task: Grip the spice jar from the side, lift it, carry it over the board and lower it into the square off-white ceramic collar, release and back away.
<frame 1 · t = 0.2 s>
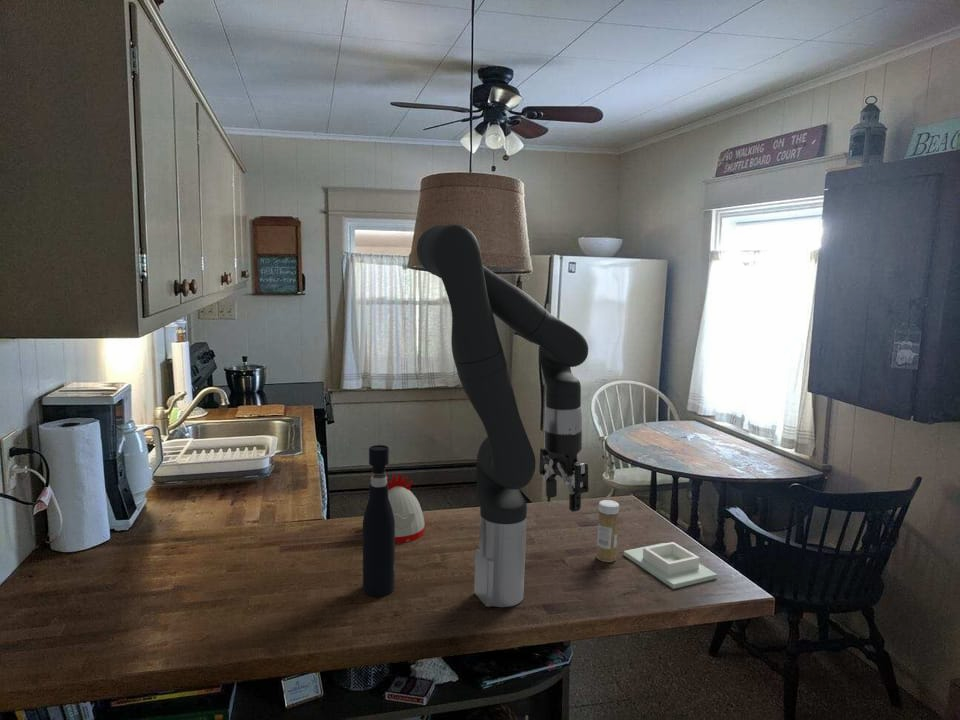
hand: (562, 503, 136), 18 cm above the kitchen counter, tool pointing down, fingers open, 8 cm apart
socket board: (670, 567, 147), on the kitchen counter
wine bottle: (378, 589, 135), on the kitchen counter
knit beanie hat: (396, 532, 163), on the kitchen counter
spice jar: (605, 559, 151), on the kitchen counter
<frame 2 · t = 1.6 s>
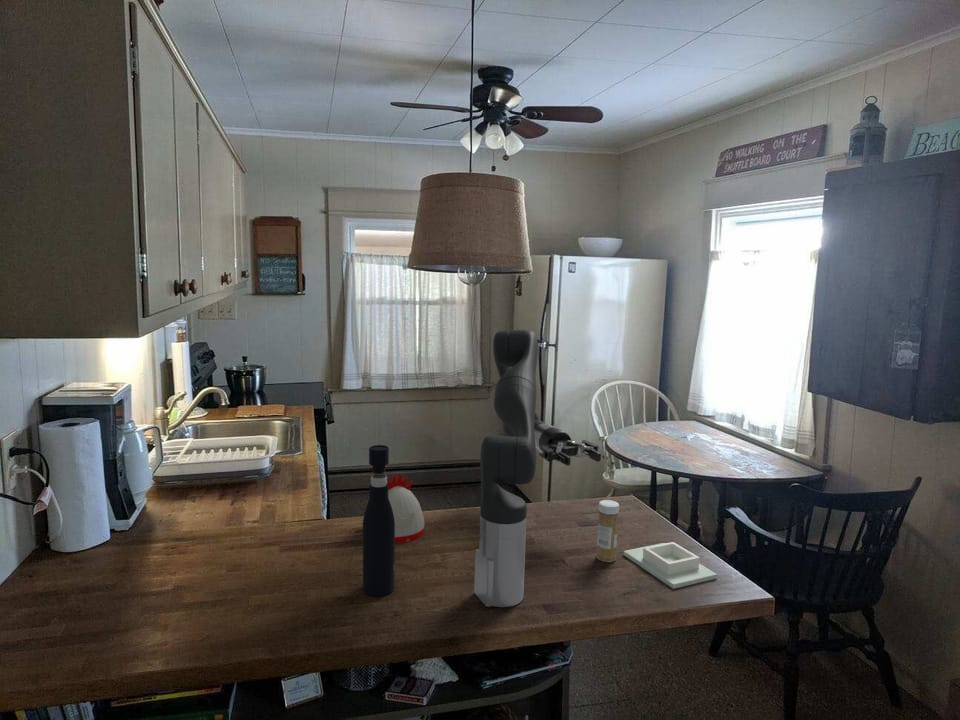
hand: (584, 459, 157), 20 cm above the kitchen counter, tool horizontal, fingers open, 8 cm apart
nothing on the kitchen counter moved.
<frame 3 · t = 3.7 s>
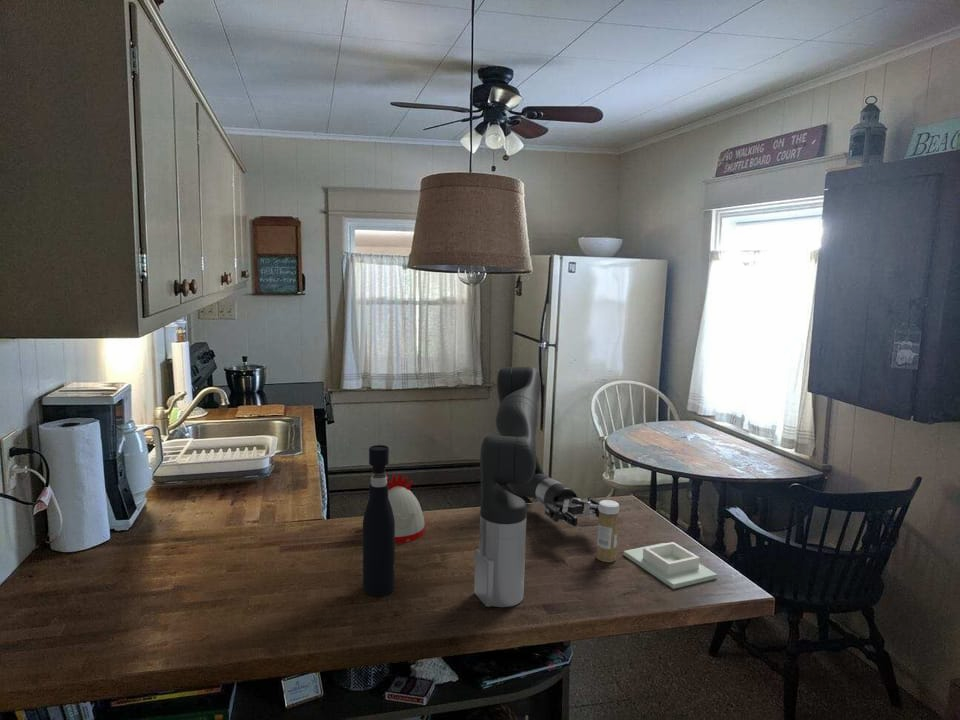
hand: (591, 519, 155), 7 cm above the kitchen counter, tool horizontal, fingers open, 8 cm apart
nothing on the kitchen counter moved.
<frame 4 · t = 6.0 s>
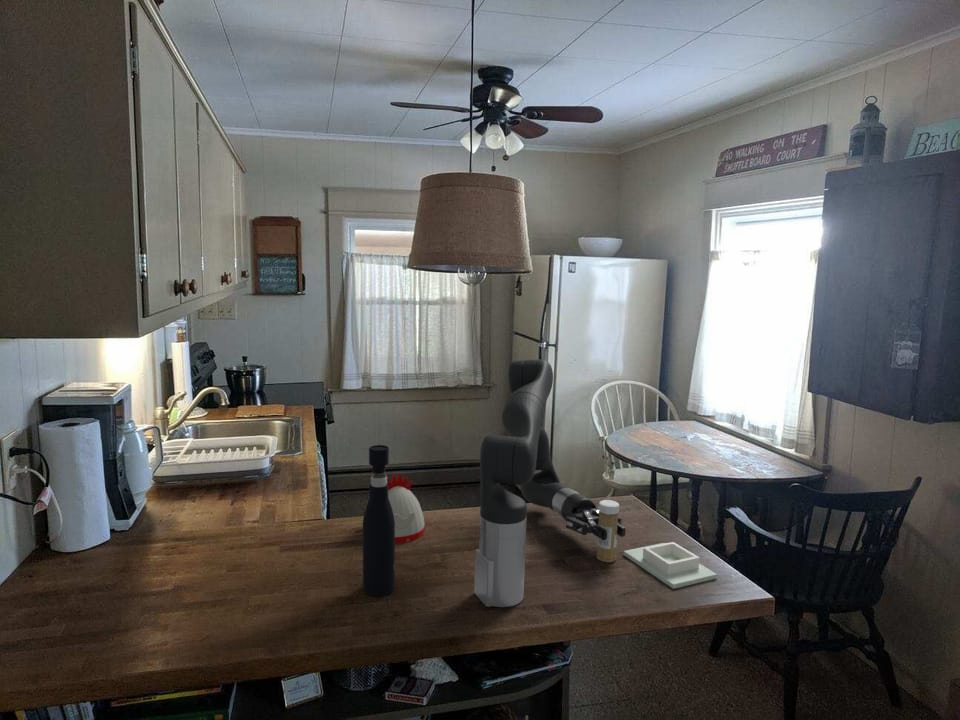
hand: (614, 534, 147), 7 cm above the kitchen counter, tool horizontal, fingers closed on spice jar, 4 cm apart
spice jar: (605, 559, 151), on the kitchen counter, touching gripper
everything else where it was.
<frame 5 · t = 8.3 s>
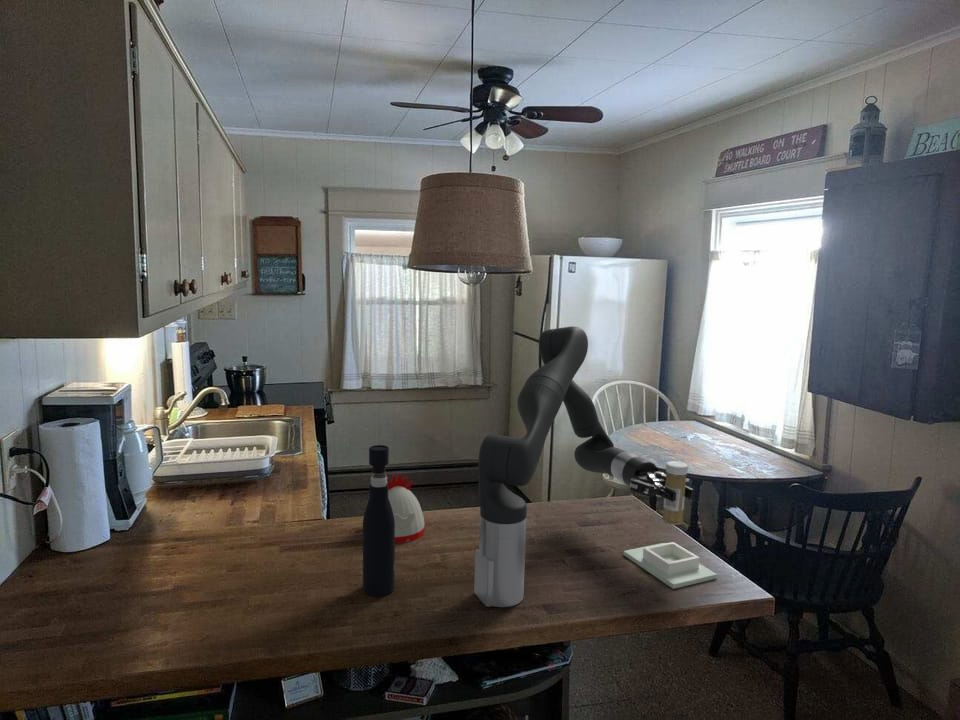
hand: (683, 495, 142), 18 cm above the kitchen counter, tool horizontal, fingers closed on spice jar, 4 cm apart
spice jar: (672, 522, 146), point 10 cm above the kitchen counter, touching gripper
everything else where it was.
when the fingers open (9 cm above the kitchen counter, at t = 10.8 s): spice jar stays where it is, resting on socket board.
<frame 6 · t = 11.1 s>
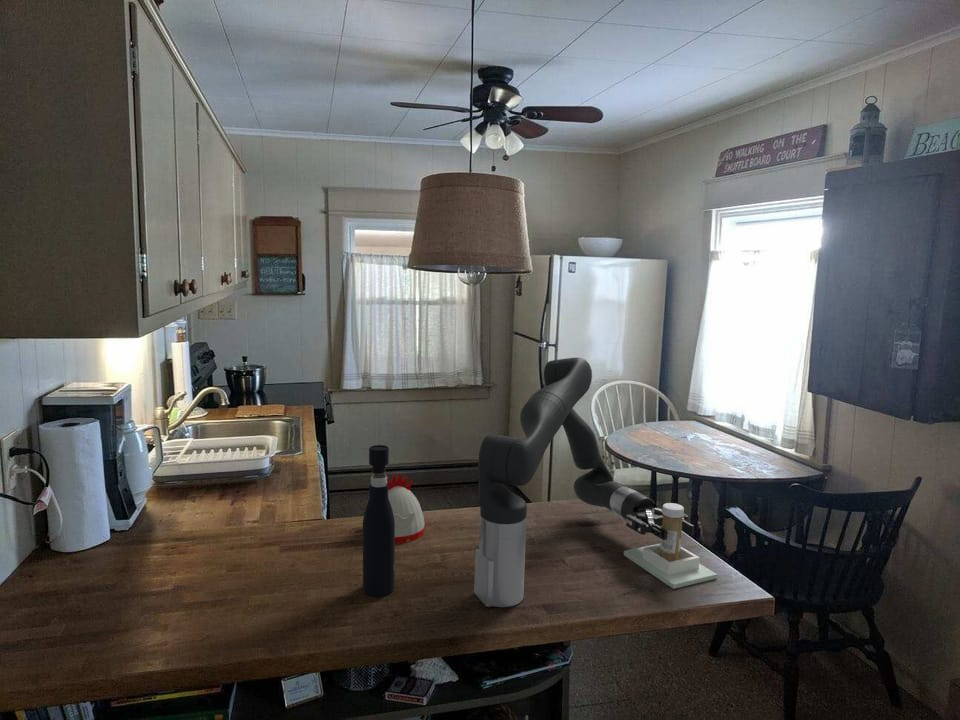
hand: (679, 533, 144), 9 cm above the kitchen counter, tool horizontal, fingers open, 7 cm apart
spice jar: (669, 563, 147), point 1 cm above the kitchen counter, touching socket board
everything else where it was.
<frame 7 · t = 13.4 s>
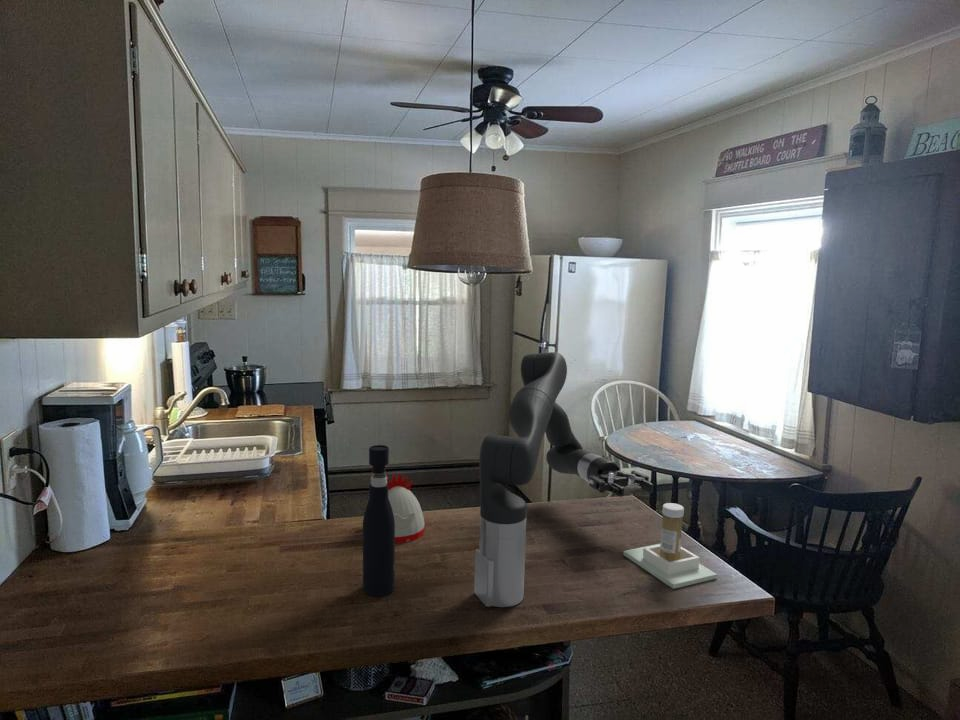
hand: (637, 490, 155), 14 cm above the kitchen counter, tool horizontal, fingers open, 8 cm apart
nothing on the kitchen counter moved.
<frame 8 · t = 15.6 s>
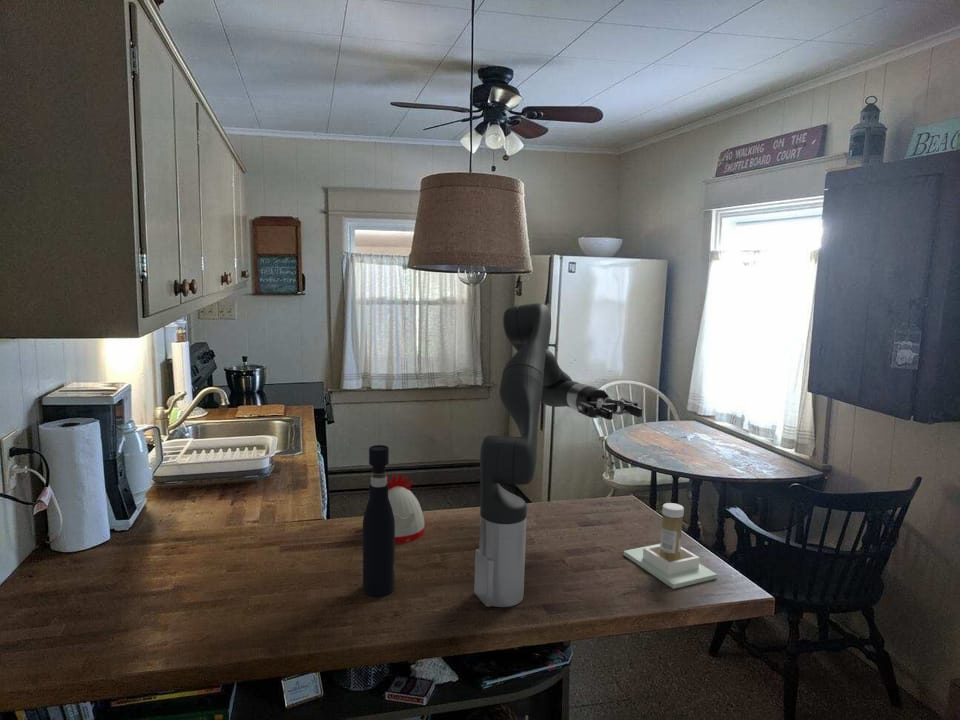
hand: (626, 414, 155), 32 cm above the kitchen counter, tool horizontal, fingers open, 8 cm apart
nothing on the kitchen counter moved.
at the end: spice jar 0.3 cm from the socket board (horizontally); spice jar tilted 0°; spice jar point 0.8 cm above the kitchen counter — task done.
